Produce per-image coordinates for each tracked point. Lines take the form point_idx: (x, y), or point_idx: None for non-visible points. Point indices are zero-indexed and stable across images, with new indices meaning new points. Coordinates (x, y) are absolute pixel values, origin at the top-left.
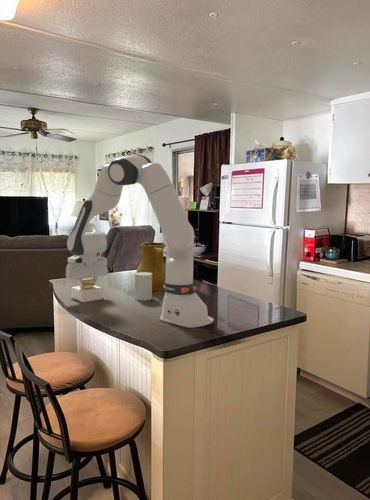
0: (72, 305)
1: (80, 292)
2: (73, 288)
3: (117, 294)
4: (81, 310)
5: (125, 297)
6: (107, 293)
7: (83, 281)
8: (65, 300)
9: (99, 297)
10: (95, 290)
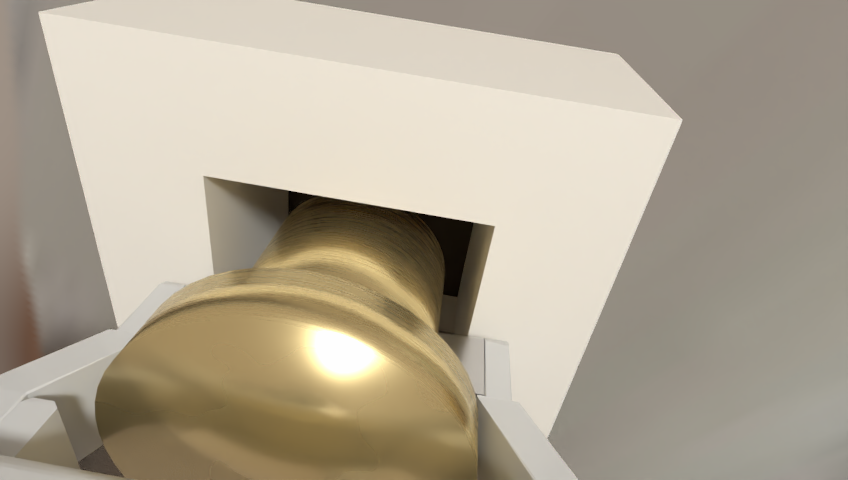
0: (77, 329)
1: None
2: (76, 127)
3: (833, 342)
4: (110, 469)
5: (725, 475)
6: (826, 201)
7: (139, 473)
8: (43, 85)
9: None
10: None
